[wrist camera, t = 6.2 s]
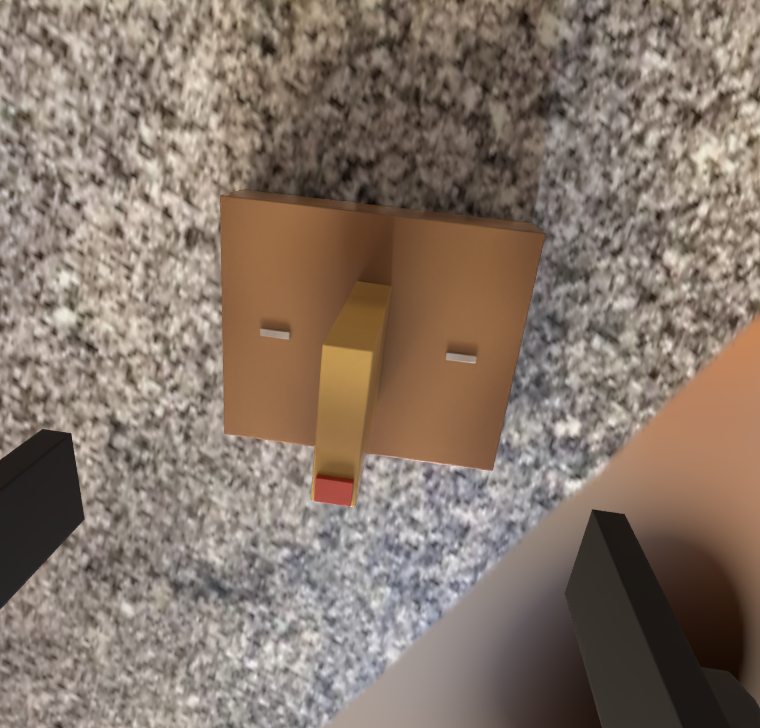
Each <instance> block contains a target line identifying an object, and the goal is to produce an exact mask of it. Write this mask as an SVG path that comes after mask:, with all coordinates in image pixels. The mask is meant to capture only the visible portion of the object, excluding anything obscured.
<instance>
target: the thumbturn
mask: <svg viewBox="0 0 760 728" xmlns="http://www.w3.org/2000/svg"><path fill="white" fill-rule="evenodd" d="M391 290H392V287H391V286H389V285H382V284H375V283H367V282H360V281H357V282H356V284H355V286H354V288H353V290H352V291H351V293H350V295H349V297H348V299H347V301H346V303H345V304H344V306H343V308H342V310H341V312H340V314H339V315H338V317H337V319H336V321H335V323H334V325H333V326H332V328H331V330H330V332H329V334H328V336H327V338H326V339H325V341H324V343H323V345H322V358H321V372H320V385H319V398H318V411H317V425H316V438H315V451H314V465H313V478H312V491H311V500H312V501H316V502H322V503H329V504H336V505H342V506H349V507H350V506H351V507H355V505H356V501H357V496H358V492H359V487H360V482H361V477H362V473H363V468H364V463H365V459H366V454H367V449H368V444H369V440H370V435H371V430H372V425H373V421H374V416H375V411H376V407H377V401H378V393H379V385H380V377H381V369H382V361H383V353H384V345H385V337H386V329H387V321H388V313H389V305H390V297H391Z"/></svg>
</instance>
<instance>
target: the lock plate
mask: <svg viewBox="0 0 760 728" xmlns="http://www.w3.org/2000/svg"><path fill="white" fill-rule="evenodd" d="M220 219H221V273H222V328H223V383H224V433H225V434H228V435H235V436H242V437H250V438H257V439H264V440H271V441H278V442H286V443H293V444H300V445H307V446H315V438H316V425H317V411H318V398H319V385H320V372H321V358H322V345H323V343H324V341H325V339H326V338H327V336H328V334H329V332H330V330H331V328H332V326H333V325H334V323H335V321H336V319H337V317H338V315H339V314H340V312H341V310H342V308H343V306H344V304H345V303H346V301H347V299H348V297H349V295H350V293H351V291H352V290H353V288H354V286H355V284H356V282H357V281H360V282H367V283H375V284H382V285H389V286H391V287H392V290H391V297H390V305H389V313H388V321H387V329H386V337H385V345H384V353H383V361H382V369H381V377H380V385H379V393H378V401H377V407H376V411H375V416H374V421H373V425H372V430H371V435H370V440H369V444H368V449H367V454H373V455H380V456H387V457H394V458H402V459H409V460H416V461H423V462H431V463H438V464H445V465H452V466H459V467H467V468H474V469H481V470H488V471H492V470H493V467H494V462H495V458H496V453H497V449H498V444H499V440H500V435H501V431H502V426H503V422H504V418H505V413H506V409H507V404H508V400H509V395H510V391H511V386H512V382H513V377H514V373H515V368H516V364H517V359H518V355H519V350H520V346H521V341H522V337H523V332H524V328H525V323H526V319H527V315H528V310H529V306H530V301H531V297H532V292H533V288H534V283H535V279H536V274H537V270H538V265H539V261H540V256H541V252H542V247H543V243H544V238H545V233H544V232H543V231H541V230H540V229H539V228H538V227H536V226H535V225H534V224H533V223H526V222H517V221H509V220H500V219H492V218H483V217H475V216H466V215H457V214H449V213H440V212H432V211H423V210H415V209H406V208H398V207H389V206H380V205H372V204H363V203H355V202H346V201H338V200H329V199H320V198H312V197H303V196H295V195H286V194H278V193H269V192H261V191H252V190H239V191H235V192H231V193H227V194H223V195H220Z"/></svg>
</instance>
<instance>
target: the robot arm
mask: <svg viewBox="0 0 760 728" xmlns="http://www.w3.org/2000/svg"><path fill="white" fill-rule="evenodd" d="M84 519H85V518H84V512H83V506H82V499H81V493H80V486H79V480H78V474H77V467H76V461H75V454H74V448H73V442H72V435H71V433H66V432H59V431H52V430H45V429H42V430H41V431H39V432H38V433H36V434H35V435H34V436H32V437H31V438H30V439H28V440H27V441H25V442H24V443H23V444H21V445H20V446H19V447H17V448H16V449H15V450H13V451H12V452H10V453H9V454H8V455H6V456H5V457H4V458H2V459H1V460H0V609H1V608H2V607H3V606H4V605H5V604H6V603H7V602H8V601H9V600H10V599H11V597H12V596H13V595H14V594H15V593H16V592H17V591H18V590H19V589H20V588H21V587H22V586H23V585H24V584H25V582H26V581H27V580H28V579H29V578H30V577H31V576H32V575H33V574H34V573H35V572H36V571H37V570H38V569H39V567H40V566H41V565H42V564H43V563H44V562H45V561H46V560H47V559H48V558H49V557H50V556H51V555H52V554H53V552H54V551H55V550H56V549H57V548H58V547H59V546H60V545H61V544H62V543H63V542H64V541H65V540H66V539H67V537H68V536H69V535H70V534H71V533H72V532H73V531H74V530H75V529H76V528H77V527H78V526H79V525H80V524H81V522H82V521H83V520H84ZM565 596H566V600H567V603H568V607H569V610H570V614H571V618H572V621H573V625H574V628H575V632H576V635H577V639H578V643H579V647H580V650H581V654H582V657H583V661H584V665H585V668H586V672H587V675H588V679H589V682H590V686H591V690H592V693H593V697H594V700H595V704H596V708H597V711H598V715H599V718H600V722H601V726H602V728H760V708H759V706H758V704H757V703H756V701H755V699H754V698H753V697H752V696H751V695H750V694H749V693H748V692H747V691H746V690H745V689H744V687H743V686H742V685H741V684H740V683H739V682H738V681H737V680H736V679H735V678H734V677H733V676H732V674H731V673H730V672H729V671H722V670H716V669H709V668H704V667H700V665H699V663H698V661H697V659H696V657H695V655H694V653H693V651H692V649H691V647H690V645H689V643H688V641H687V639H686V637H685V635H684V633H683V631H682V629H681V627H680V625H679V623H678V621H677V619H676V617H675V615H674V613H673V611H672V609H671V607H670V605H669V603H668V601H667V599H666V597H665V595H664V593H663V591H662V589H661V587H660V585H659V583H658V581H657V579H656V577H655V575H654V572H653V570H652V569H651V567H650V564H649V563H648V560H647V559H646V557H645V554H644V552H643V550H642V548H641V546H640V544H639V542H638V540H637V538H636V537H635V534H634V532H633V530H632V529H631V526H630V524H629V522H628V520H627V518H626V516H625V514H619V513H613V512H606V511H599V510H592V512H591V515H590V518H589V522H588V524H587V527H586V530H585V533H584V536H583V539H582V543H581V546H580V549H579V552H578V555H577V558H576V561H575V564H574V567H573V570H572V573H571V576H570V579H569V582H568V585H567V588H566V591H565Z"/></svg>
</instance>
